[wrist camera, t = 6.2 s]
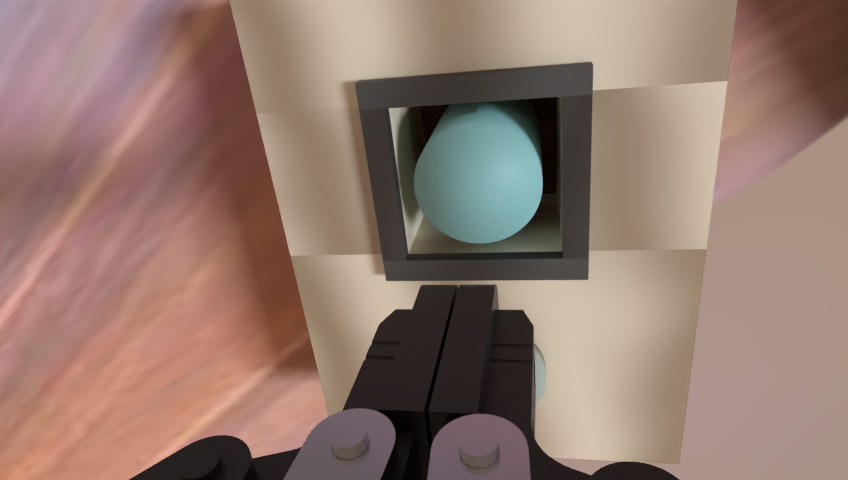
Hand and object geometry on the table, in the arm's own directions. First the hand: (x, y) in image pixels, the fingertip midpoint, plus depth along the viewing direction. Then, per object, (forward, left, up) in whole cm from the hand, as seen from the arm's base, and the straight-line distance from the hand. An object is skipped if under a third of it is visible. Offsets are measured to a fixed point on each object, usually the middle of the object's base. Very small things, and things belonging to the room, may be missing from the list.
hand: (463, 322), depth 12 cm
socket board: (0, +3, -13) cm, 13 cm away
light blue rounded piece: (0, 0, -13) cm, 13 cm away
